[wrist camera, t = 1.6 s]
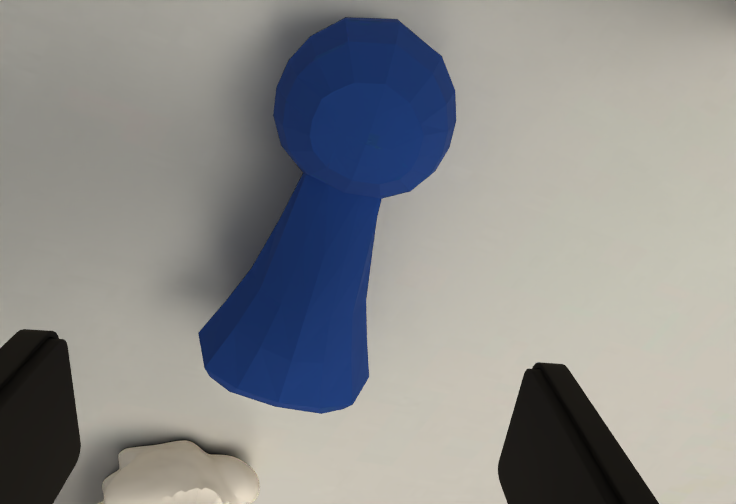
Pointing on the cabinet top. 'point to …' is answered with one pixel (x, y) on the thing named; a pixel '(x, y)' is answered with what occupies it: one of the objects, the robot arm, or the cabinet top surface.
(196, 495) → the rabbit figurine
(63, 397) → the robot arm
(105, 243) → the cabinet top surface
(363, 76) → the toy
